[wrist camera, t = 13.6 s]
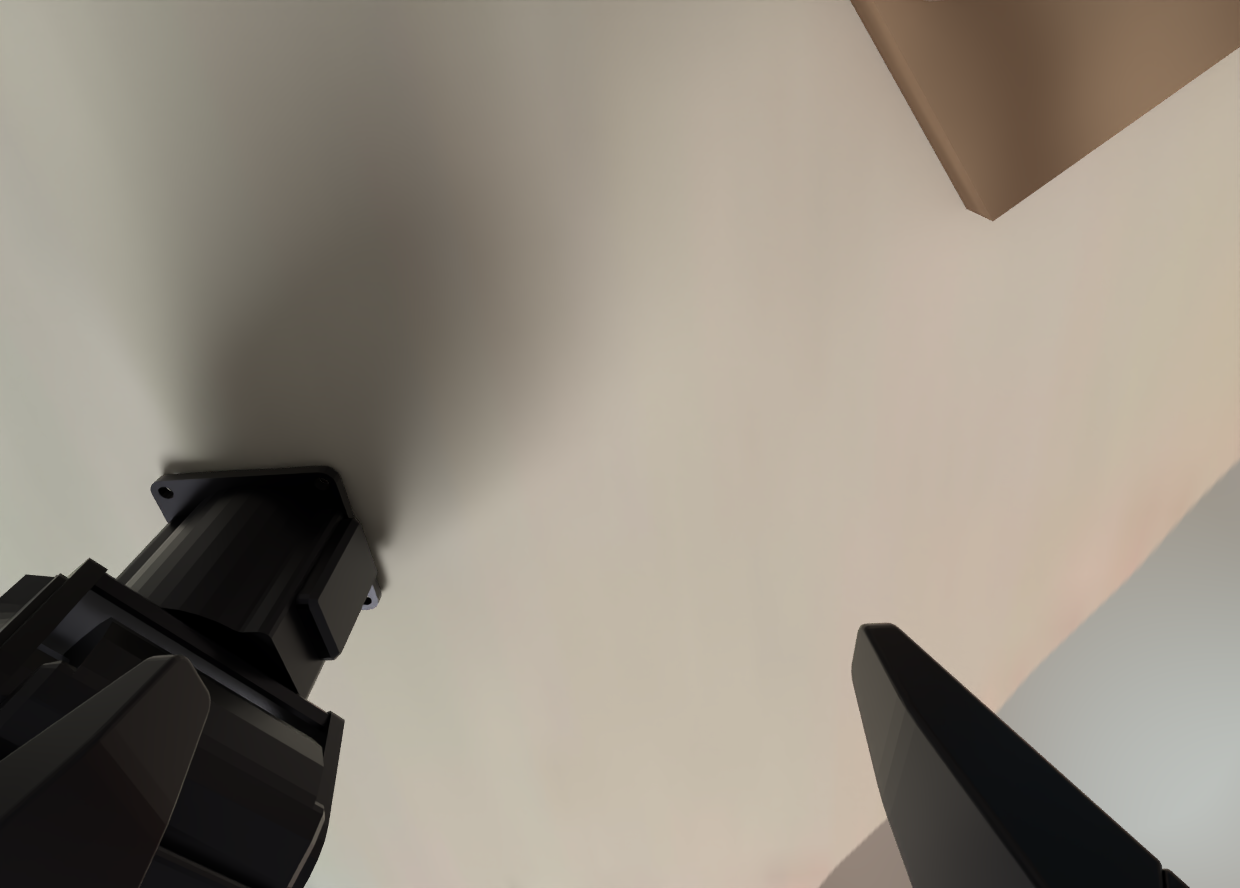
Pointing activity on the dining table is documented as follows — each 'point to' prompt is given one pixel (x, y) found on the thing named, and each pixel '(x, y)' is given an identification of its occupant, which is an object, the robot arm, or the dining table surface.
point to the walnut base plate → (1038, 78)
